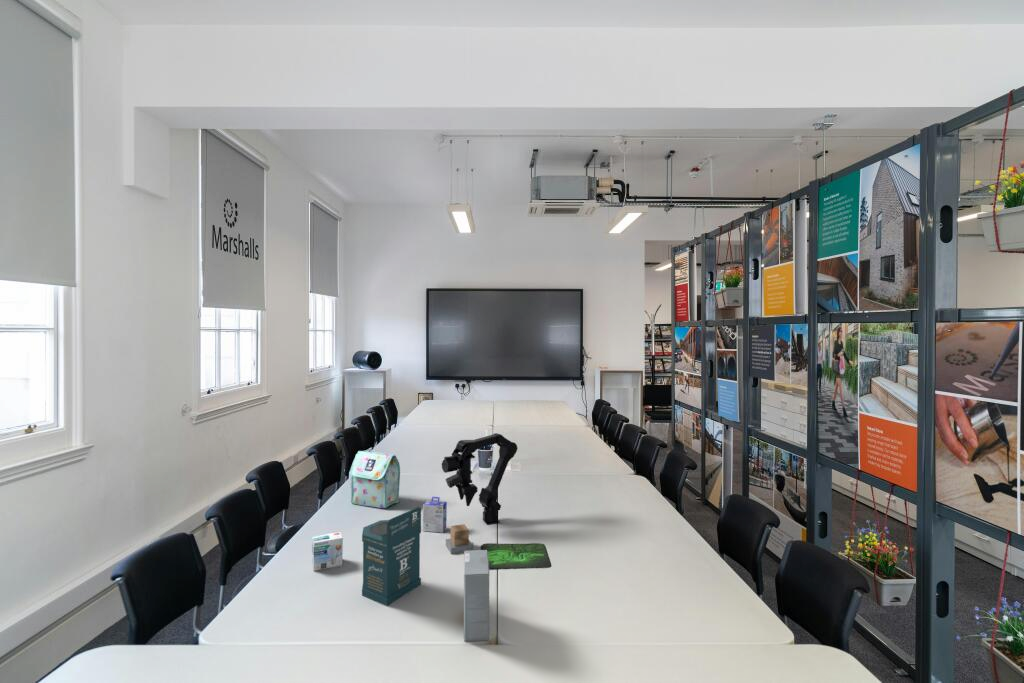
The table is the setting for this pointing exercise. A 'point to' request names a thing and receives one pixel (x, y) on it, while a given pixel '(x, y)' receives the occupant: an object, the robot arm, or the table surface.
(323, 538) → the light bulb box
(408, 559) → the donation box
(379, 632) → the table surface
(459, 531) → the walnut block
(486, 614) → the hard drive box
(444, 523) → the ink cartridge box
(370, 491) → the lunch bag
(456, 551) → the base slab
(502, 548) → the mouse mat
